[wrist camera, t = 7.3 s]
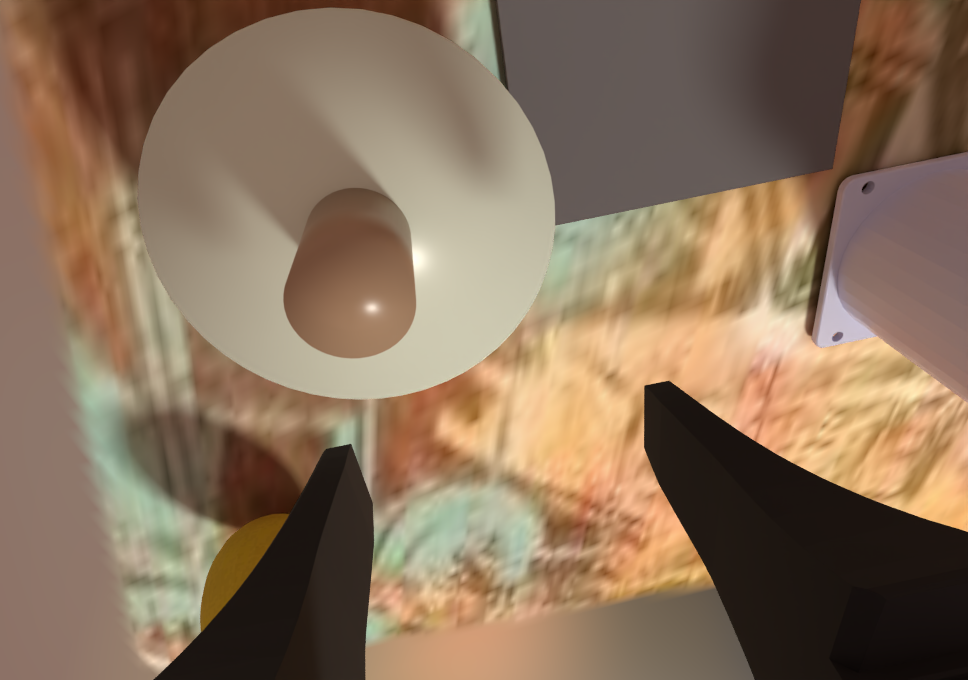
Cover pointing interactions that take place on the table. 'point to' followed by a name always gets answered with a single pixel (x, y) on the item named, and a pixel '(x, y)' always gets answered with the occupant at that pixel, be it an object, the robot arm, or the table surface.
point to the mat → (676, 94)
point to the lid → (346, 203)
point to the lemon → (237, 563)
